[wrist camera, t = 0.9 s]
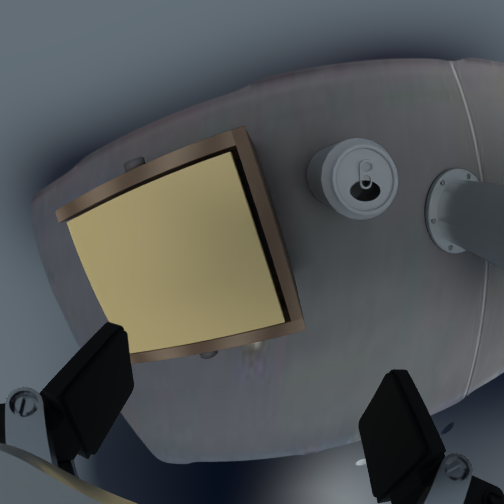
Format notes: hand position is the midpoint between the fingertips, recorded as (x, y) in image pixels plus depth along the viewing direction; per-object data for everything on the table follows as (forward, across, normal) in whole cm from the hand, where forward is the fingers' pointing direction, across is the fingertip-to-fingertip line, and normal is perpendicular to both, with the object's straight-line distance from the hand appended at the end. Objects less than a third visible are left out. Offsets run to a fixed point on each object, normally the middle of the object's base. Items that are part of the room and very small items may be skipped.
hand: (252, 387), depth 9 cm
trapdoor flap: (+14, +8, +2) cm, 16 cm away
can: (+28, -7, -8) cm, 30 cm away
